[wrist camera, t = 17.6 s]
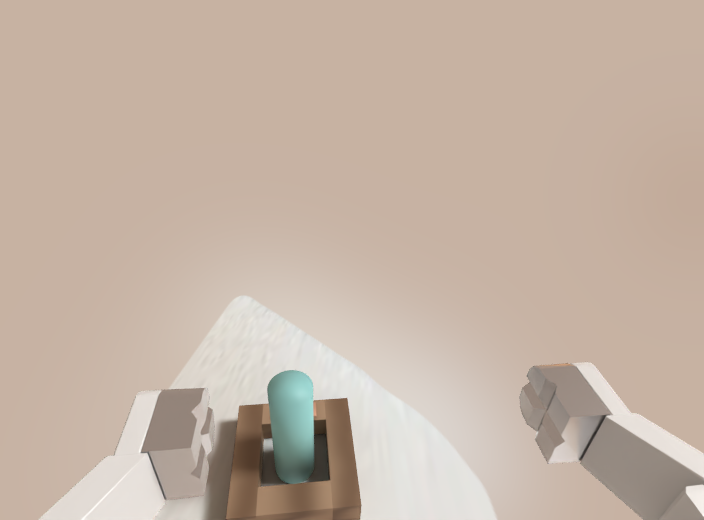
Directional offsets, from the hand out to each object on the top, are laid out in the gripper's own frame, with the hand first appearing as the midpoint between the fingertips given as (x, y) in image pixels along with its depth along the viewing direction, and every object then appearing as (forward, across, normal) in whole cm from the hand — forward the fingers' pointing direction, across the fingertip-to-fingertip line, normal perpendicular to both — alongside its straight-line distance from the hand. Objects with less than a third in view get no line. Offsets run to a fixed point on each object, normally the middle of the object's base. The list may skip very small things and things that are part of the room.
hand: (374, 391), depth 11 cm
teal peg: (+19, +3, +34) cm, 39 cm away
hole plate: (+19, +3, +34) cm, 39 cm away
